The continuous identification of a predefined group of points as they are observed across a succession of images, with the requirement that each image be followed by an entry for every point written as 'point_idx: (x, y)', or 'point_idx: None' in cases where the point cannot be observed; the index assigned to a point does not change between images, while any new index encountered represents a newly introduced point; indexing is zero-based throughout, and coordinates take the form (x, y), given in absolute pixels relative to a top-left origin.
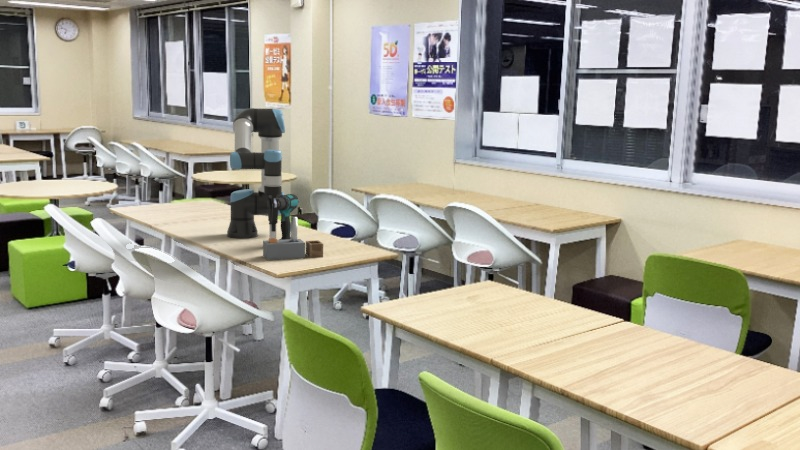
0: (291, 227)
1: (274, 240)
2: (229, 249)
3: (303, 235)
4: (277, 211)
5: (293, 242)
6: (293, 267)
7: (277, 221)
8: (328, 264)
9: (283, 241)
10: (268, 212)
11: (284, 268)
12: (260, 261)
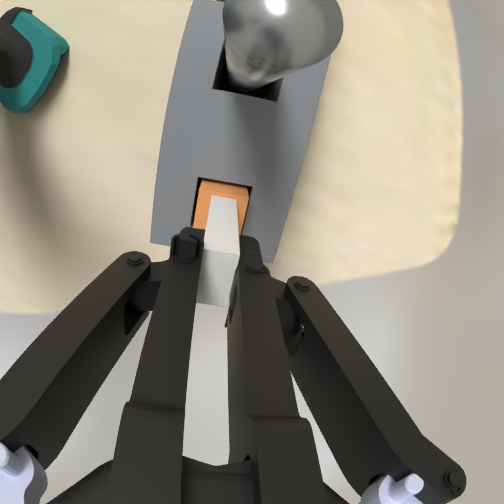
0: (273, 79)
1: (245, 211)
2: (36, 281)
3: None
4: (390, 397)
5: (292, 87)
6: (422, 185)
7: (306, 285)
8: (446, 49)
9: (229, 134)
10: (102, 370)
11: (414, 220)
12: None
